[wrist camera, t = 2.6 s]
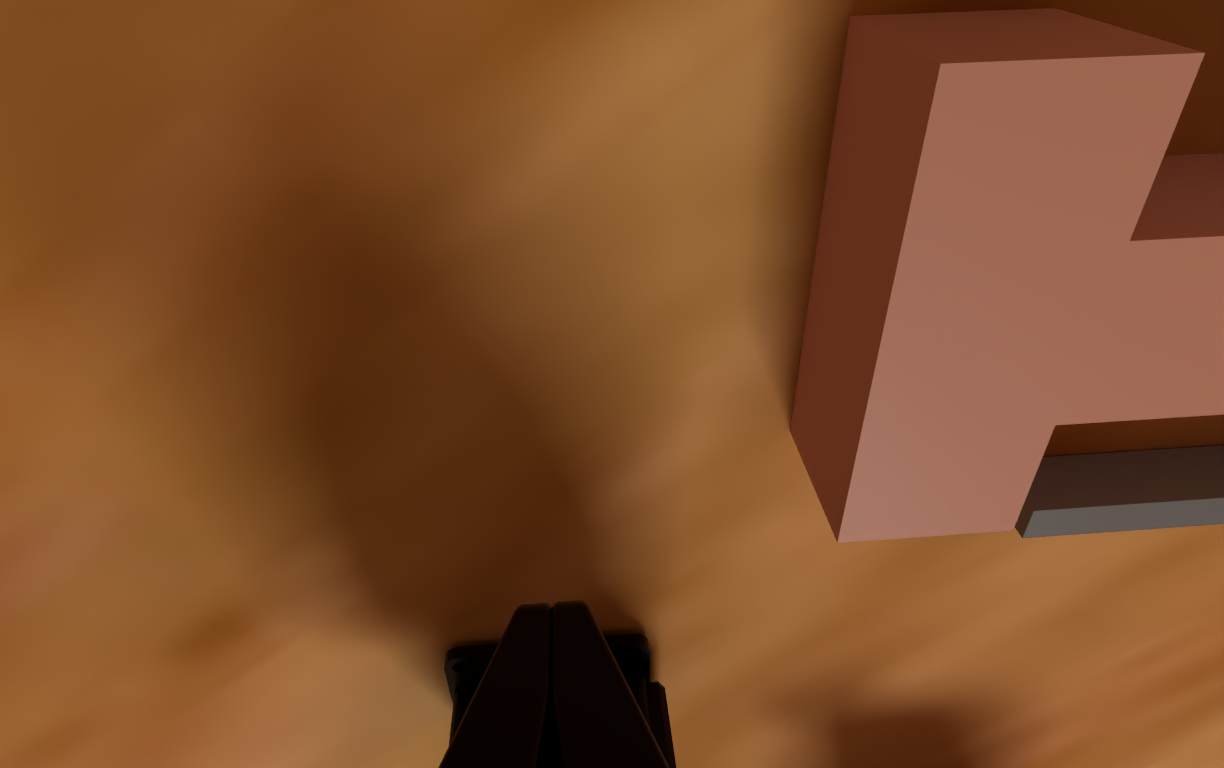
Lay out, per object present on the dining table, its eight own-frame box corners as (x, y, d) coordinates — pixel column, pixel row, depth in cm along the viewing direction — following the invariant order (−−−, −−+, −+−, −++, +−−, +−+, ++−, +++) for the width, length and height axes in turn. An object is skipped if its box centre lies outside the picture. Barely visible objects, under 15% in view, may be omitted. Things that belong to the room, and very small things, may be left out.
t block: (789, 430, 20) (837, 542, 17) (850, 15, 14) (940, 63, 11) (1188, 404, 20) (1311, 509, 17) (1403, -6, 15) (1647, 34, 11)
